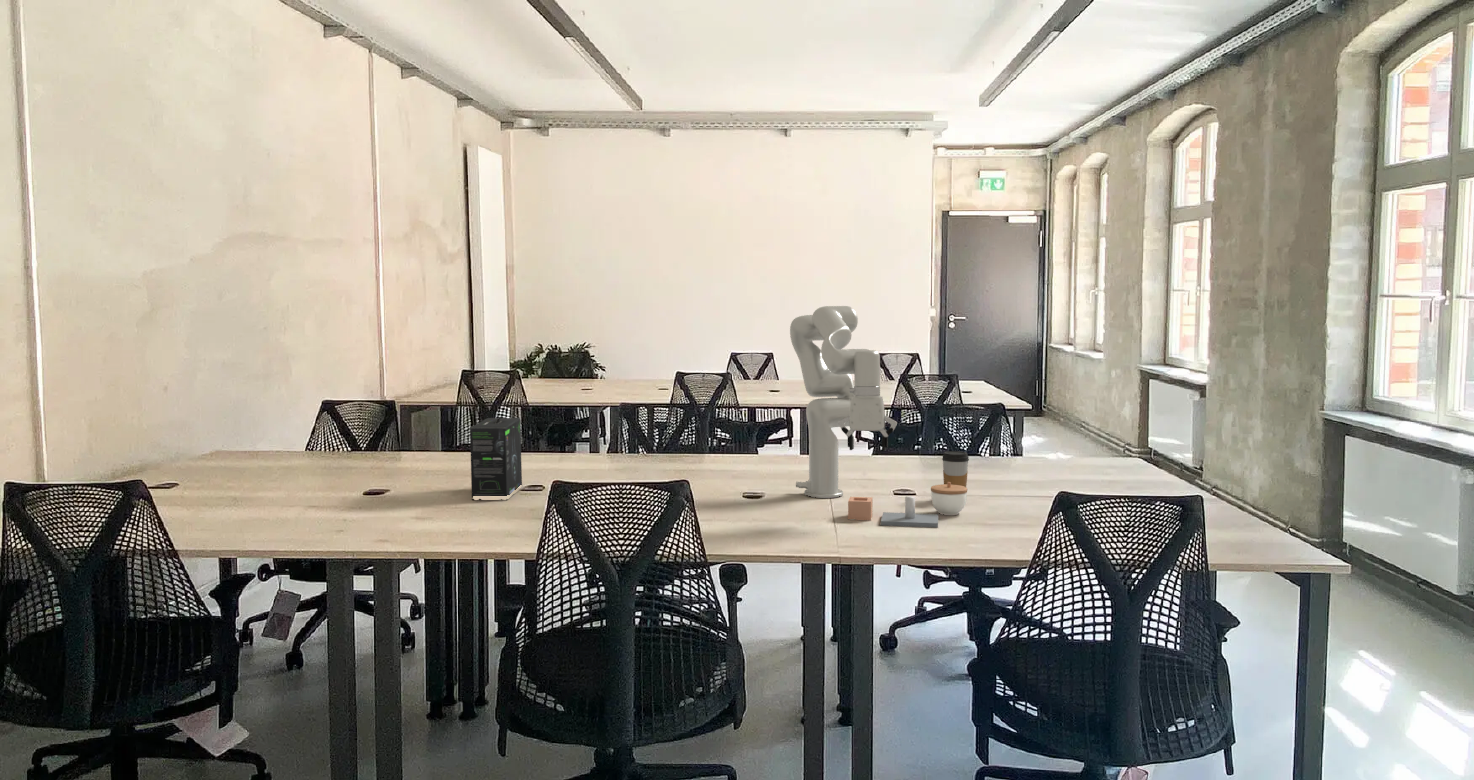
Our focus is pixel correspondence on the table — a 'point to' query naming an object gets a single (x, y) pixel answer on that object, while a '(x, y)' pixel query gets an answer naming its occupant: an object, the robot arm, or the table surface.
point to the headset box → (495, 456)
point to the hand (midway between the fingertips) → (867, 449)
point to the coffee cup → (955, 467)
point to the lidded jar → (948, 498)
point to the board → (909, 522)
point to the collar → (860, 508)
